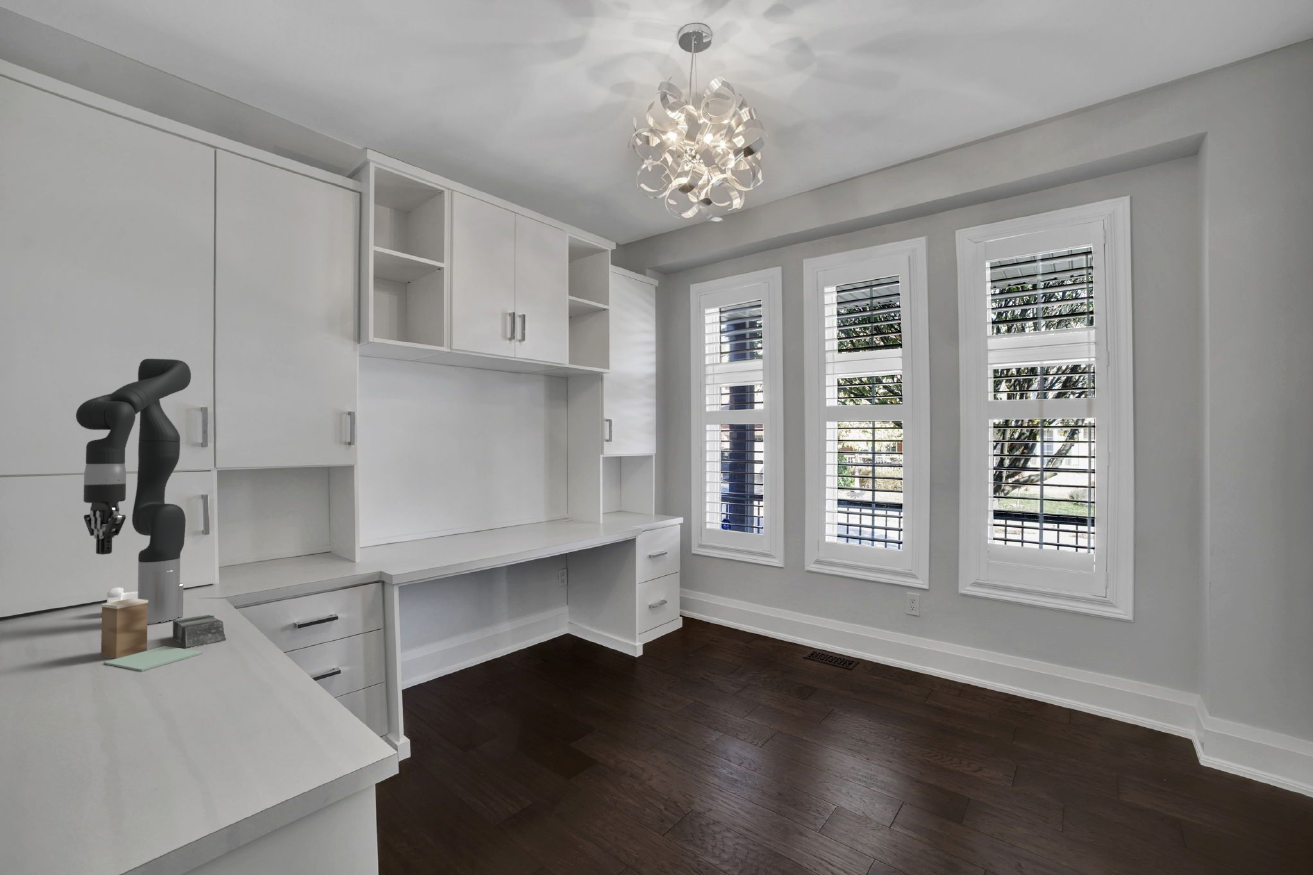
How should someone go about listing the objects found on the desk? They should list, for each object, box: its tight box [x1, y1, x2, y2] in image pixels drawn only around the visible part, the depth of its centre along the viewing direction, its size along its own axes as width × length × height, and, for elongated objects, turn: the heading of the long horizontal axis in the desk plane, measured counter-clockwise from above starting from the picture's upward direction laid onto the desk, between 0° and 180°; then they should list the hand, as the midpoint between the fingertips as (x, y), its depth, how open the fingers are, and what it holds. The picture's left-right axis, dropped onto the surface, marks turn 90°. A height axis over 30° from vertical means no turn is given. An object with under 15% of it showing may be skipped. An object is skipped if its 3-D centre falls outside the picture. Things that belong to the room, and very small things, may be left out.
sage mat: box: [103, 645, 203, 672], centre depth 135 cm, size 12×14×1 cm
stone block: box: [172, 614, 227, 650], centre depth 150 cm, size 9×14×5 cm, turn 49°
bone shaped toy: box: [106, 586, 138, 603], centre depth 179 cm, size 15×9×8 cm, turn 126°
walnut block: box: [100, 598, 148, 660], centre depth 139 cm, size 6×6×12 cm
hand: (103, 553), depth 143 cm, fingers closed
